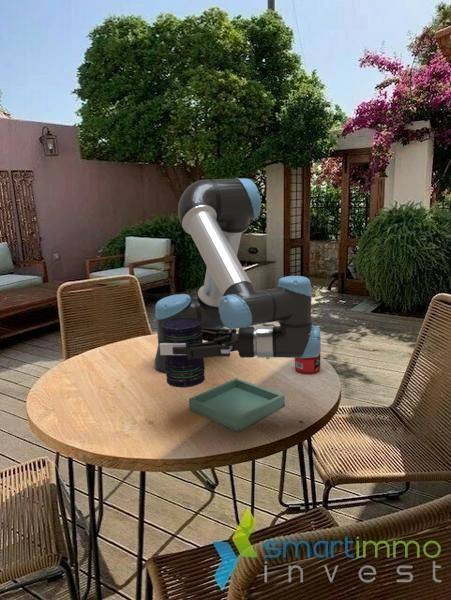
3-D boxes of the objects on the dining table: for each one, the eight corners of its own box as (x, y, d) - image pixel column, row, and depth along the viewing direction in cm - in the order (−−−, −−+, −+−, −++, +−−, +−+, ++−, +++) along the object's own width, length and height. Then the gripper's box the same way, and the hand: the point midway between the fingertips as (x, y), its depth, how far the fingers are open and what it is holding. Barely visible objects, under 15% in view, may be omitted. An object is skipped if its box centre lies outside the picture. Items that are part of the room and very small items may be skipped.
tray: (189, 409, 123) (188, 398, 123) (236, 387, 135) (236, 377, 135) (237, 431, 111) (236, 420, 110) (284, 405, 123) (284, 395, 122)
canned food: (320, 375, 141) (320, 341, 139) (294, 374, 143) (293, 340, 140) (320, 365, 149) (320, 333, 146) (295, 364, 150) (295, 332, 148)
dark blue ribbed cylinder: (182, 369, 123) (178, 316, 120) (212, 375, 118) (209, 319, 115) (158, 383, 115) (153, 326, 112) (189, 390, 110) (185, 330, 106)
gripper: (251, 374, 101) (154, 373, 105) (259, 341, 123) (178, 341, 126) (250, 342, 100) (151, 342, 103) (258, 314, 121) (176, 315, 125)
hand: (166, 342), depth 115 cm, fingers closed on dark blue ribbed cylinder, 10 cm apart
